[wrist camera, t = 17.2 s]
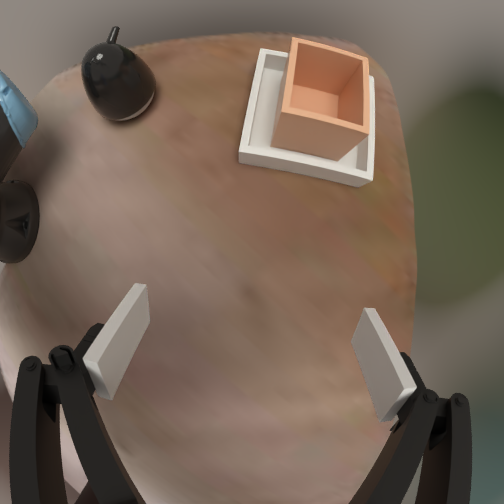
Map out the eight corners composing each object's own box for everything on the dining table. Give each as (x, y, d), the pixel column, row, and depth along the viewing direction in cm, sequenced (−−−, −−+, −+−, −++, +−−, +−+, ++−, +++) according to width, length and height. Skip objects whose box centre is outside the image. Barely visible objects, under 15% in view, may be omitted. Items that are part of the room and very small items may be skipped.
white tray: (238, 163, 38) (238, 151, 33) (258, 66, 37) (260, 48, 32) (358, 187, 39) (372, 180, 34) (362, 91, 38) (373, 77, 33)
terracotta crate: (270, 146, 37) (281, 111, 26) (281, 80, 37) (292, 37, 26) (337, 161, 37) (369, 134, 26) (341, 95, 37) (367, 58, 26)
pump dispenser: (171, 78, 37) (147, 19, 22) (147, 132, 37) (107, 83, 22) (120, 75, 36) (85, 25, 21) (96, 126, 37) (47, 85, 21)
